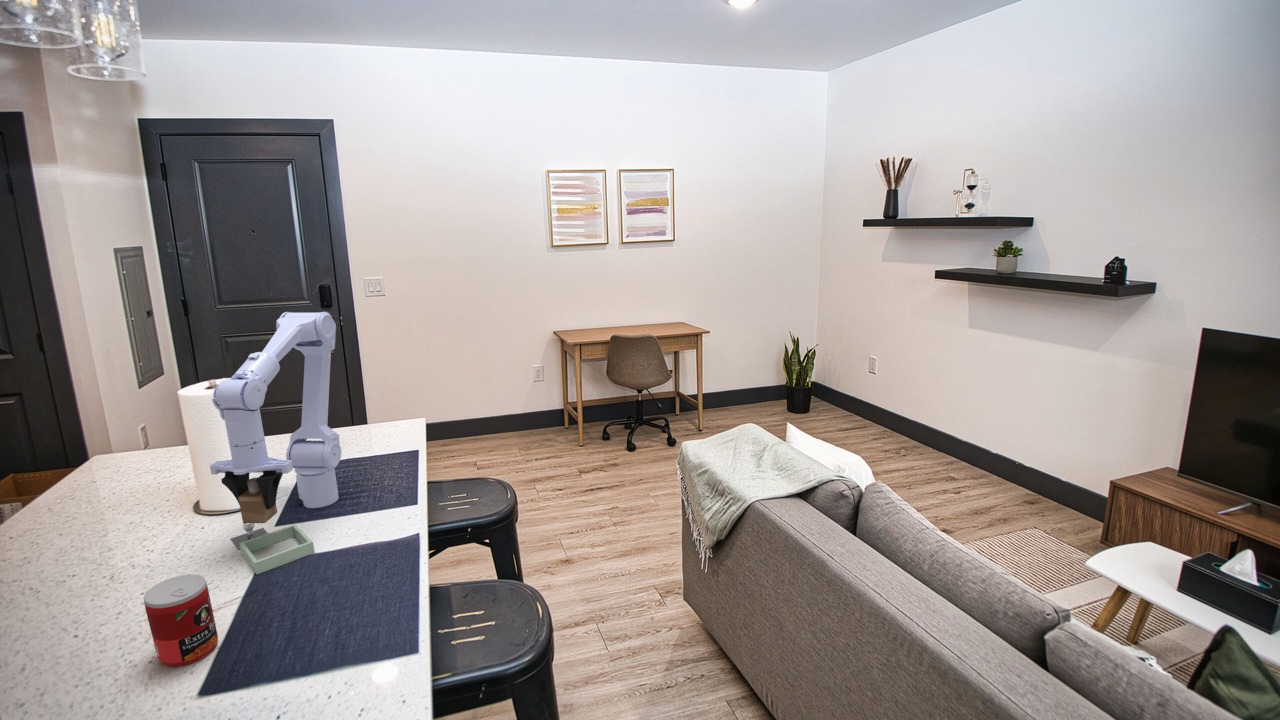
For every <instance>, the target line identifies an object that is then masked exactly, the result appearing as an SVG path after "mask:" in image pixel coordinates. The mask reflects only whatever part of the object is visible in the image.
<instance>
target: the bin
mask: <svg viewBox="0 0 1280 720" xmlns="http://www.w3.org/2000/svg"><path fill="white" fill-rule="evenodd" d="M291 538H296V540H297V541H298V542H299V543H300V544H299V545H296V546H294V547H290V548H288V549H285V550H283V551H280V552H277V553H274V554H272V555H269V556H266V557H264V558H260V559H257V558H256V557H255V555H254V554H253V552H255V551H258V550H261V549H263V548H266V547H267V548H268V547H269V546H273V545H275V544H277V543H281V542H282V541H286V540H289V539H291ZM239 544H240V550H239V551H240V553H241V556H242V557H243V558H244V560H245V561H246V562H247V564H248V565H249V566H250V568H251V569H252V570H253V571H254V573H255V574H256V575H260V574H262V573H266V572H267V571H270V570H272V569H276V568H278V567H280V566H283V565H286V564H289V563H291V562H294V561H297V560H299V559H301V558H304V557H307V556H310V555H312V554H315V546H314V542H313V540H312V539H311V538H310V537H309V536H308V535H307V534H306V533H305V532H304V531H303V530H302V529H301V528H300V527H299V526H298V525H297V524H296V523H294V524H291V525H288V526H285V527H282V528H279V529H276V530H273V531H270V532H267V534H264V535H262V536H259V537H256V538H253V539H250V540H247V541H244V542H241V543H239Z"/></svg>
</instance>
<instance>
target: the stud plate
mask: <svg viewBox="0 0 1280 720" xmlns="http://www.w3.org/2000/svg"><path fill="white" fill-rule="evenodd" d="M242 524H243V525H242V528H243V529H242V530H244V531H245V532H246V533H243V534H241V535H237V536H235V537H232V538H230V539H229V540H230V541H231V542H232V544H233V546H235V548H236V549H237V550H238V551H241V550H240V544H239V543H241V542H244V541H247V540H250V539H253V538H256V537H259V536H262V535H264V534H267V533H268V532H267V530H266V529H265V528H264V527H262V528H258V529H255V530H254V528H255V524H256V523H242Z"/></svg>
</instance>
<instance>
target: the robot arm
mask: <svg viewBox="0 0 1280 720" xmlns="http://www.w3.org/2000/svg"><path fill="white" fill-rule="evenodd" d="M275 326H276V327H275V329H276V331H275V333H274V334H273V336H271V338H270V340H269V341H268V343H267V344H266V345H265V347H264V348H263V350H262V351H257V352H254V353H250V354H249V355H248V357H247V359H246V360H245V361H244V362H243V364H242V365H240V367H239V368H238V369H237V370H236V372H235V373H234V374H233V375H232V376H231V377H230V379H229V378H227V379H223V380H222V381H220V382H219V383H218V384H216V386H215V387H214V390H213V393H212V395H213V398H212V399H211V401H212V404H213V406H214V407H215V409H216V410H218V412H219V416H220V419H222V420H223V421H224V422H225V423H224V424H225V429H226V435H227V440H228V445H229V450H230V456H231V459H226V460H216V461H214V462H213V463H211V464H210V465H209V468H210V474H211V475H218V474H224V477H222V478H221V484H223V486H225V487H226V488H227V489H228V490H229V491H230V493H232V495H233V496H234V497H235V500H236V502H237V503H238V505H239V506H240V504H239V499H238V497H239V496H240V495H242V494H243V493H244V492H246V491H247V490H248V484H247V480H249V479H250V473H251V474H252V473H262V474H260V476H258V477H256V478H257V479H256V481H257V483H258V484H259V486H260V488H261V490H262V493H263V497H264V503H265V506H266V509H271V508H272V507H273V506H274V505H276V506H277V495H278V488H279V485H280V483H281V479H282V478H283V475H287V474H289V473H291V471H294V473H296V475H295V479H296V486H297V491H298V497H299V499H300V500H301V501H302V503H303V506H304V507H305V508H308V509H317V508H319V509H320V508H324V507H327V506H330V505H332V504H334V503H336V502H337V501H338V500H339V489H338V483H337V476H336V470H335V468H336V467H337V466H338V464H339V463H340V461H341V459H342V447H341V444H340V443H341V442H340V434H338V433H337V432H336V431H335V430H333V428H331V427H330V426H328V421H329V420H328V419H329V418H328V417H329V403H330V402H329V400H330V399H329V397H330V379H331V377H330V375H331V357H332V351H333V350H335V348H336V332H337V331H336V330H337V325H336V322H335V320H334V318H333V317H332V315H331V314H330V313H329V312H328V311H322V312H291V311H285V312H283V313H282V314H281V315H280V316H279V318H278V319H277V320H276V325H275ZM293 348H294V349H295V350H298V351H300V352H301V354H302V355H303V356H304V367H303V368H304V369H303V371H304V372H303V383H302V384H303V385H302V386H303V389H302V406H301V425H300V427H299V428H298V429H296V430H294V432H293V433H291V435H289V443H288V447H287V449H286V453H285V458H286V459H281V458H274V457H269V456H268V449H267V445H266V438H265V433H264V432H265V431H264V428H263V420H262V416H261V415H262V414H261V411H260V408H261V407H262V406H263V405H264V401H265V400H266V399H265V397H266V393H267V392H268V386H269V384H270V383H272V381H273V380H274V378H275V377H276V375H277V374H278V373H279V372H280V370H281V365H280V363H279V362H280V361H281V360H282V359H283V358H284V357H285V356H286V355H287V354H288V353H290V351H291V350H292V349H293ZM309 439H310V440H309ZM311 439H312V440H311ZM314 439H316V440H314ZM318 439H319V440H318Z"/></svg>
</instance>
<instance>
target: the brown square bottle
mask: <svg viewBox="0 0 1280 720" xmlns="http://www.w3.org/2000/svg"><path fill="white" fill-rule="evenodd" d="M257 478H258V477H252V478H249V480H247V484H248V490H247V491H246V492H244V493H243V494H242V495H240V496H239V497H238V499H239V503H238V505H239V504H240V505H239V509H240V514H241V519H242V524H244V523H254V524H266V523H267V522H268V521H270V520H271V518H273V517H274V516H275V515H276V514H277V513H278V508H277V504H276V505H274V506H273V507H272V508H271V509H266V506H265V503H264V497H263V493H262V490H261V488H260V486H259V484H258V483H257V481H256V479H257Z"/></svg>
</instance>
